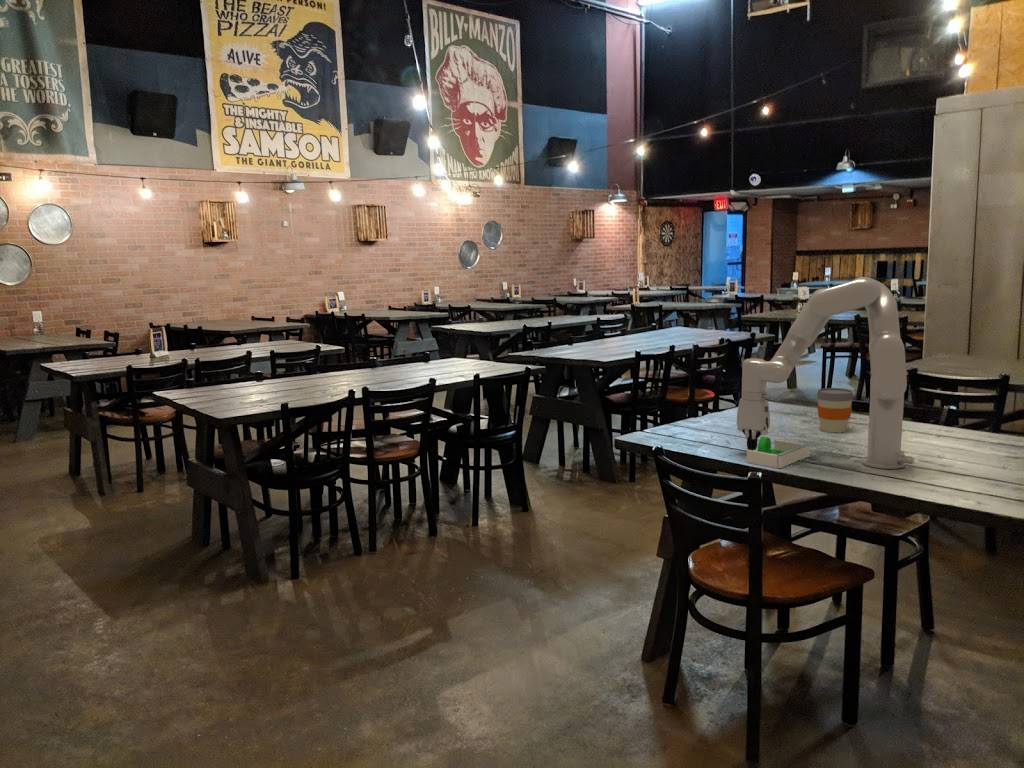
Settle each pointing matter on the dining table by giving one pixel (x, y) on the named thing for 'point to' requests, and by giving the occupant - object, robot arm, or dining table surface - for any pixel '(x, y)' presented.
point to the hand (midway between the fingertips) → (751, 449)
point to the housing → (778, 461)
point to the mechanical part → (767, 446)
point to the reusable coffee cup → (834, 408)
